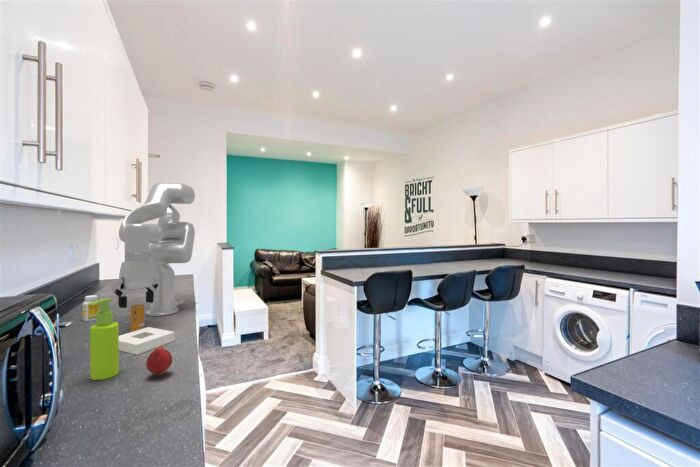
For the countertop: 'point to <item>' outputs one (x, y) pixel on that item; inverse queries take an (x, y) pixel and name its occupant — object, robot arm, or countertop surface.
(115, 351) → the soap dispenser
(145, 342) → the socket block
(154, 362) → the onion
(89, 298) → the supplement bottle
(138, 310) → the supplement box
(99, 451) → the countertop surface
